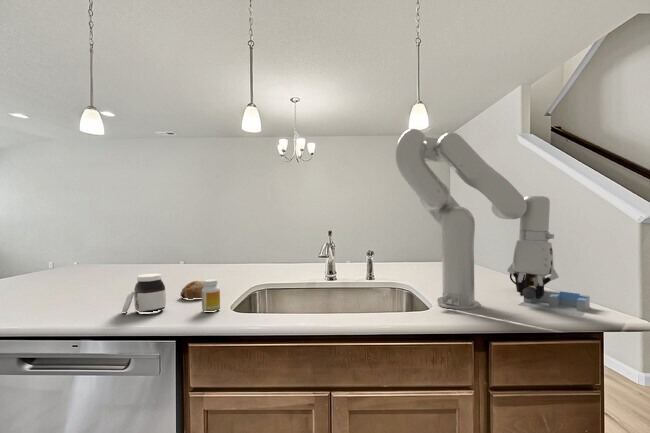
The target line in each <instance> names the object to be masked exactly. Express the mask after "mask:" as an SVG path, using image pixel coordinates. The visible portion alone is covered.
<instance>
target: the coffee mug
mask: <svg viewBox="0 0 650 433" xmlns="http://www.w3.org/2000/svg"><path fill="white" fill-rule="evenodd" d="M518 273H519V272H518ZM509 279H510V281H511V282H512V283H513V284H514V285H515V288H516V289H515V290H516V292H518V293H520V292H519V282H518V280H517V279H516V278H515V277H514V279H513V275H512V274H511V273H509ZM525 282H526V287H530V286H534V285H538V276H537V275H534V274H527V273H526V277H525Z"/></svg>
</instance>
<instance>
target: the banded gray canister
mask: <svg viewBox="0 0 650 433" xmlns="http://www.w3.org/2000/svg"><path fill="white" fill-rule="evenodd" d="M536 286H537V285H534V286H530V287H526V288H524V289H523V291H522V294H523V296H522V297H523V298H524V297H525V298H526V299H534V298H536Z"/></svg>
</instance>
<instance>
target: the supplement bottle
mask: <svg viewBox="0 0 650 433" xmlns="http://www.w3.org/2000/svg"><path fill="white" fill-rule="evenodd" d="M203 282H204V286H205V287H204V288H203V289H202V300H201V308H202V309H201V310H203V311H215V310H219V309H220V310H221V289H220V287H219V286H218V279H216V278H215V279H214V278H213V279H212V278H211V279H206V280H205V279H204V280H203ZM220 310H219V311H220ZM203 311H202V312H203Z"/></svg>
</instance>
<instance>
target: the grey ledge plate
mask: <svg viewBox="0 0 650 433" xmlns="http://www.w3.org/2000/svg"><path fill="white" fill-rule="evenodd" d="M590 300H591V299H590V295H587V294H580V293H578V292H570V291H569V292H568V291H561V290H560V291H559V290H558V291H556V290H548V289H544V295H543V296H542V298H540V299H537V298H534V299H526V298H525V297H524V296H523V301H522V302H520V303H519V304H517V305H518V306H522V307H527V308H528V307H529V308H534V309H538V310H539V309H540V310H545V311H552V312H558V313H563V314H569V315H576V316H580V317H583V316H584V315H585V313H587V312H588V311H589V310H590V309H591V308H592V307H591V306H590V305H591V304H590V303H591V302H590Z"/></svg>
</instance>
